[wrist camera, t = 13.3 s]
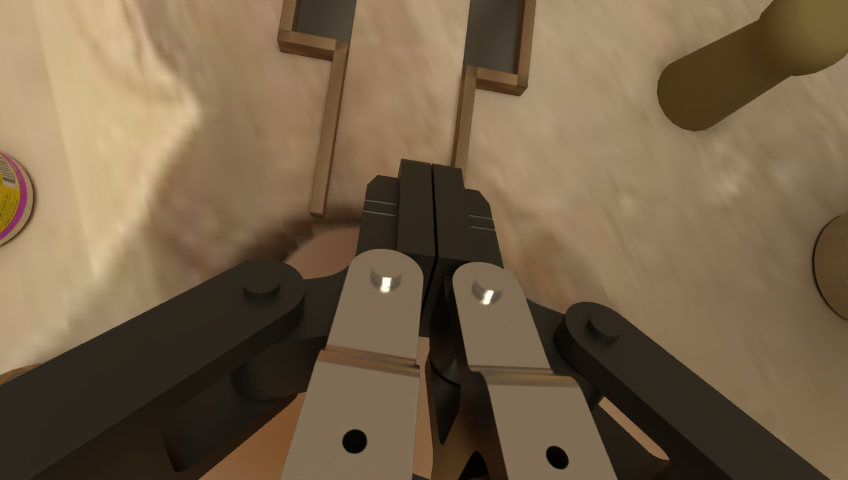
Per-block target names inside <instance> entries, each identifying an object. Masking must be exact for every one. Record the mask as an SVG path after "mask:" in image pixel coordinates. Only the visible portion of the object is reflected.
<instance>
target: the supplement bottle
mask: <svg viewBox="0 0 848 480" xmlns="http://www.w3.org/2000/svg"><path fill="white" fill-rule="evenodd" d="M32 204H33V190H32V185H31V182H30V180H29V177H28V176H27V174H26V172H25V171H24V169H23V168H22V167H21V166H20V165H19V164H18V163H17V162H16V161H15V160H14V159H12V158H11V157H10V156H8V155H6V154H4V153H3V152H1V151H0V245H1V244H3V243H4V242H6V241H8V240H9V239H11V238H12V237H13V236H14V235H16V234H17V233H18V232H19V231H20V230H21V228H22V227H23V226H24V224H25V223H26V222H27V220H28V218H29V216H30V213H31V209H32Z"/></svg>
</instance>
